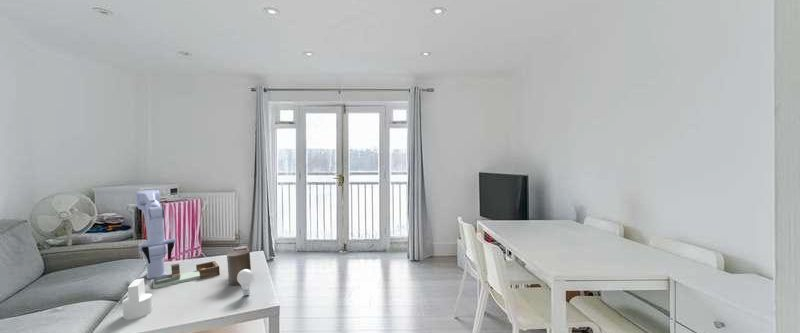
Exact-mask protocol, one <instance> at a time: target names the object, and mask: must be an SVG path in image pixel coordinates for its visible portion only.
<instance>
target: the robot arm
mask: <svg viewBox="0 0 800 333" xmlns="http://www.w3.org/2000/svg"><path fill="white" fill-rule="evenodd" d="M160 199H161V194H160V190H159V189H151V190H140V191H138V190H137V191H136V192H135V203H136V207H137V209H138V210H141V211H142V213H143V216H144V222H145V223H144V225H145V229H146V238H147V239H146V240H144V242H142V243H139V244H138V250H141V255H142V259H144V260H146V271H147V272H146V273H145V275H146V279H147V280H148V279H149V280H150V279H154V278H155V277H160V276H165V275H168V274H167V271H166V269H165V268H166V267H165V256H167V260H169V261H170V260H171V255H172V252H173V249H174V247H175V244H177V238H168V239H166V235H165V234H166V232H165V223H164V222H165V221H164V218H165V215H166V214H165V208H164V205H161V204H160V201H161V200H160Z"/></svg>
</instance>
